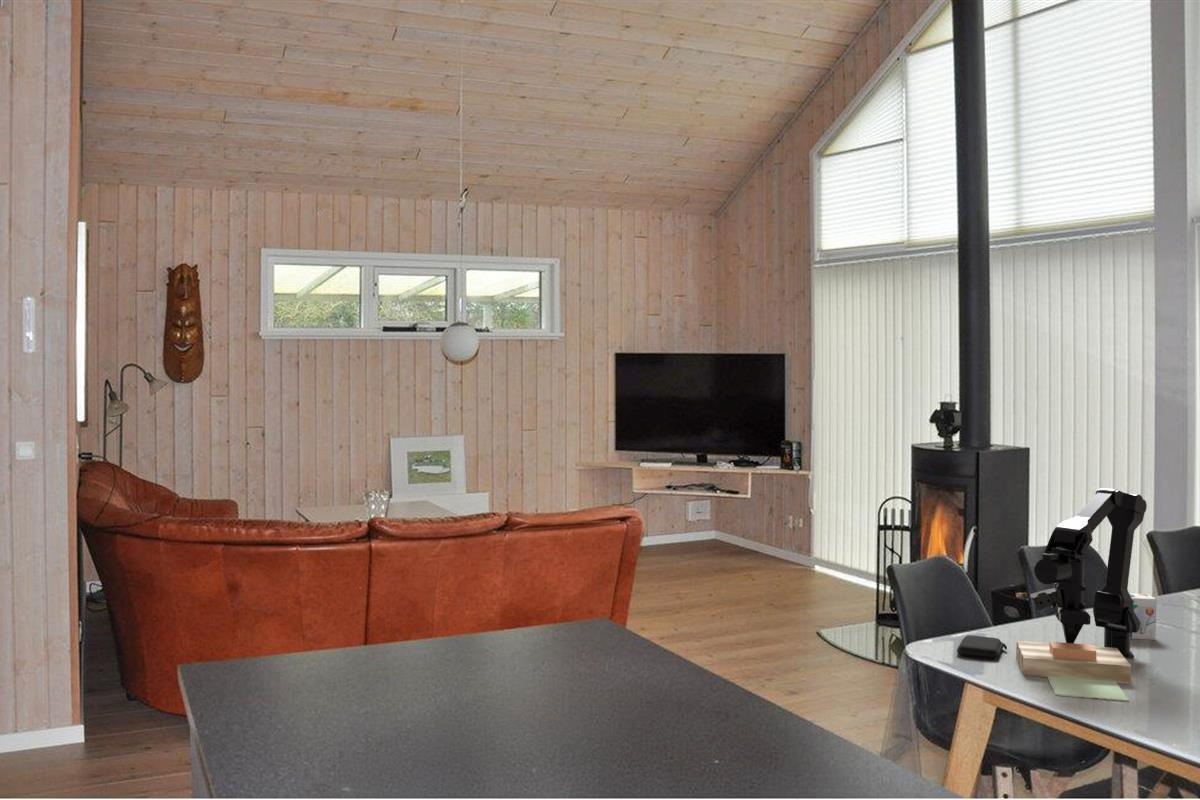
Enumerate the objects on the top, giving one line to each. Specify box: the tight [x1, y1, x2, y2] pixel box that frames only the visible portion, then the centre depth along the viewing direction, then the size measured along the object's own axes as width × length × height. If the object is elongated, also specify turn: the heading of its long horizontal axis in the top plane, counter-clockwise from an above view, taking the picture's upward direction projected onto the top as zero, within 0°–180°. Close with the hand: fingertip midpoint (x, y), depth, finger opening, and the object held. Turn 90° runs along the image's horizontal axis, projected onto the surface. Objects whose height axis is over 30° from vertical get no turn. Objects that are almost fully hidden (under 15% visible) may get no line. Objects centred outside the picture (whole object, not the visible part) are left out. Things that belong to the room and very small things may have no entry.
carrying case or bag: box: [956, 634, 1008, 661], centre depth 251 cm, size 11×3×15 cm
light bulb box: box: [1129, 592, 1158, 640], centre depth 269 cm, size 11×7×11 cm, turn 80°
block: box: [1049, 641, 1096, 660], centre depth 234 cm, size 6×9×2 cm, turn 73°
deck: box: [1015, 640, 1132, 685], centre depth 236 cm, size 16×22×4 cm
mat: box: [1046, 676, 1130, 703], centre depth 222 cm, size 14×14×1 cm
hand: (1069, 646), depth 239 cm, fingers closed
